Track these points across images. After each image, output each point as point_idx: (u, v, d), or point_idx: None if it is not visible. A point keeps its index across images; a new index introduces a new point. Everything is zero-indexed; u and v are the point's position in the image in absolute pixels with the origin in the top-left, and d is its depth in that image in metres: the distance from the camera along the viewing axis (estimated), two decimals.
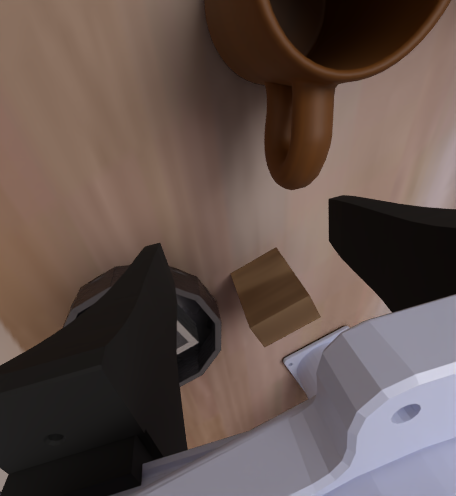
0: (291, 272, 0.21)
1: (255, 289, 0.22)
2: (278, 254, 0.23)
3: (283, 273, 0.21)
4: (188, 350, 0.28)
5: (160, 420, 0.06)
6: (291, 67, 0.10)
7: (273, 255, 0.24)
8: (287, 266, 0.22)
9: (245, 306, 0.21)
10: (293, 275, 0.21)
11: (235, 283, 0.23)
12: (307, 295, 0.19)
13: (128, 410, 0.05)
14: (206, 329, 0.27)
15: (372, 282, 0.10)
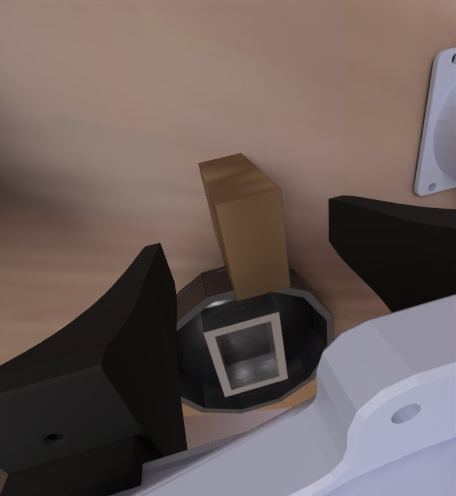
0: (206, 185, 0.12)
1: (219, 240, 0.14)
2: (201, 171, 0.15)
3: (208, 194, 0.13)
4: (302, 306, 0.22)
5: (160, 420, 0.06)
6: None
7: (202, 177, 0.15)
8: (204, 180, 0.13)
9: None
10: (207, 188, 0.12)
11: (219, 244, 0.17)
12: (216, 207, 0.10)
13: (128, 410, 0.05)
14: None
15: (372, 282, 0.10)
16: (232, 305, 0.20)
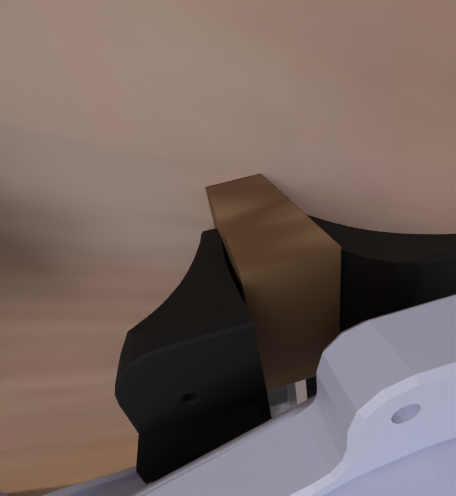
0: (220, 227, 0.09)
1: None
2: (209, 199, 0.11)
3: (222, 236, 0.09)
4: None
5: None
6: None
7: (210, 206, 0.12)
8: (216, 216, 0.10)
9: None
10: (222, 232, 0.09)
11: None
12: (240, 275, 0.07)
13: (262, 370, 0.05)
14: None
15: None
16: None
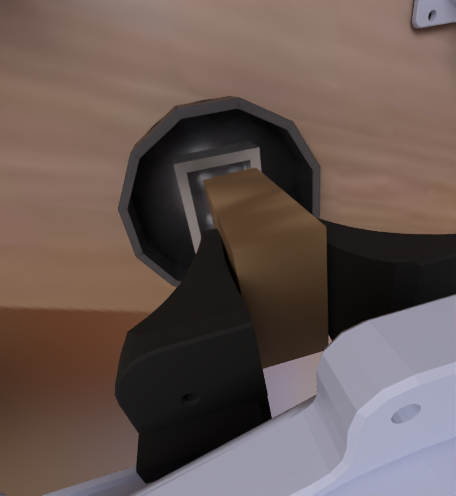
0: (216, 214, 0.09)
1: None
2: (206, 191, 0.12)
3: (217, 224, 0.10)
4: (287, 170, 0.20)
5: None
6: None
7: (208, 198, 0.12)
8: (212, 205, 0.10)
9: None
10: (218, 218, 0.09)
11: None
12: (233, 253, 0.07)
13: (261, 370, 0.05)
14: (266, 131, 0.18)
15: None
16: (208, 150, 0.18)
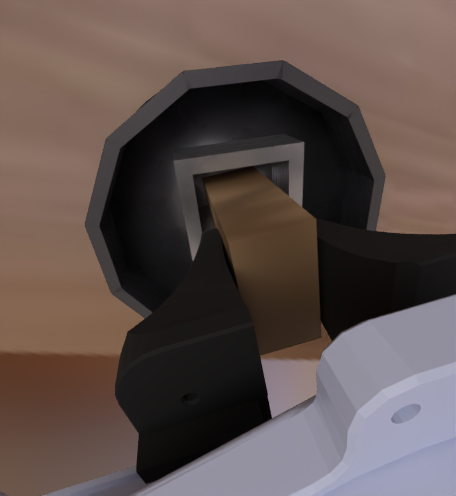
0: (213, 209, 0.10)
1: None
2: (205, 188, 0.12)
3: (215, 219, 0.10)
4: (330, 178, 0.14)
5: None
6: None
7: (206, 195, 0.13)
8: (210, 201, 0.11)
9: None
10: (215, 213, 0.10)
11: None
12: (229, 244, 0.07)
13: (262, 370, 0.05)
14: (309, 121, 0.13)
15: None
16: (225, 143, 0.12)
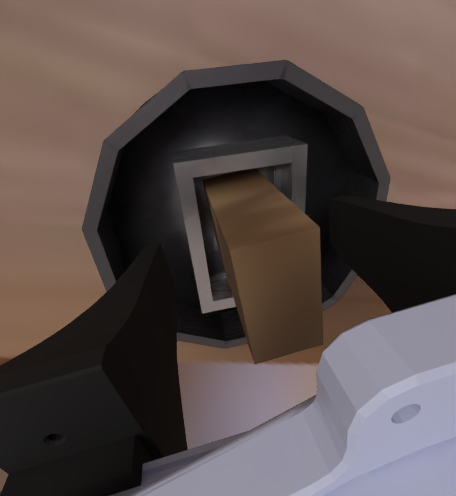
0: (214, 214, 0.10)
1: (229, 278, 0.11)
2: (205, 190, 0.12)
3: (216, 223, 0.10)
4: (333, 180, 0.14)
5: (160, 420, 0.06)
6: None
7: (206, 197, 0.12)
8: (211, 205, 0.10)
9: (240, 317, 0.11)
10: (216, 218, 0.09)
11: None
12: (230, 253, 0.07)
13: (128, 410, 0.05)
14: (311, 122, 0.12)
15: (372, 282, 0.10)
16: (226, 145, 0.12)
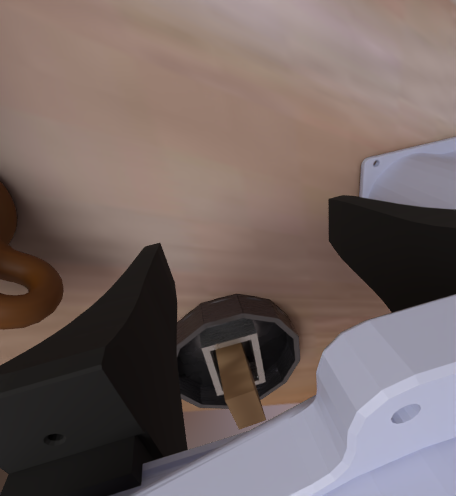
0: (219, 370, 0.24)
1: None
2: None
3: None
4: (277, 327, 0.28)
5: (160, 420, 0.06)
6: None
7: None
8: (218, 362, 0.25)
9: None
10: (220, 374, 0.24)
11: None
12: (225, 400, 0.22)
13: (128, 410, 0.05)
14: None
15: (372, 282, 0.10)
16: (223, 327, 0.26)
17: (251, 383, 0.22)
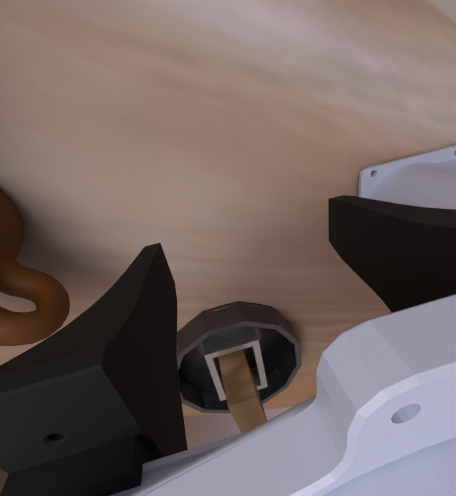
0: (222, 377, 0.25)
1: None
2: None
3: None
4: (278, 332, 0.29)
5: (160, 420, 0.06)
6: None
7: None
8: None
9: None
10: (223, 381, 0.25)
11: None
12: (228, 406, 0.23)
13: (128, 410, 0.05)
14: None
15: (372, 282, 0.10)
16: (225, 333, 0.27)
17: (253, 390, 0.23)
